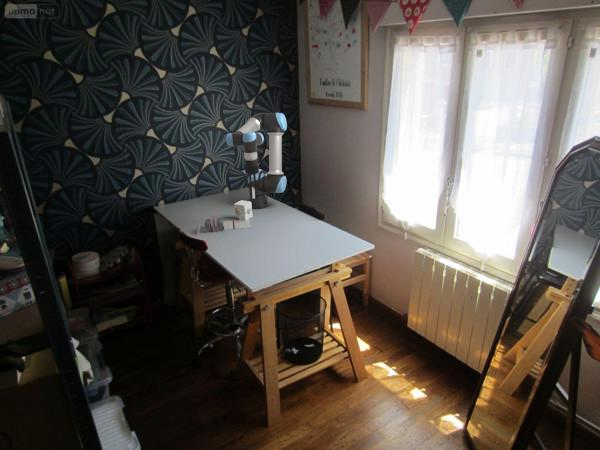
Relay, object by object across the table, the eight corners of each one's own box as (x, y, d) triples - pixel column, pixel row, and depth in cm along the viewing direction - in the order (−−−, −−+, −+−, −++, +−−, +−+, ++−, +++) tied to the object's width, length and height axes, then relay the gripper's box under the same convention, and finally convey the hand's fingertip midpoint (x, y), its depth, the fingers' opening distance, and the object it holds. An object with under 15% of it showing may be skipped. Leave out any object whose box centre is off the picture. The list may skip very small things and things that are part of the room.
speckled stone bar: (250, 225, 260) (249, 218, 258) (250, 227, 256) (249, 221, 255) (224, 227, 258) (223, 221, 256) (224, 229, 254) (223, 223, 252)
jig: (252, 225, 263) (251, 211, 259) (253, 230, 254) (252, 216, 251) (201, 229, 259) (199, 215, 255) (200, 235, 250) (198, 221, 247)
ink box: (234, 220, 272) (233, 203, 268) (242, 216, 279) (241, 199, 275) (245, 222, 268) (244, 205, 264) (253, 218, 275) (251, 201, 271)
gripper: (261, 157, 247) (264, 195, 255) (239, 158, 246) (242, 196, 254) (262, 159, 240) (264, 198, 248) (239, 161, 239) (243, 200, 247)
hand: (253, 197), depth 251 cm, fingers closed
